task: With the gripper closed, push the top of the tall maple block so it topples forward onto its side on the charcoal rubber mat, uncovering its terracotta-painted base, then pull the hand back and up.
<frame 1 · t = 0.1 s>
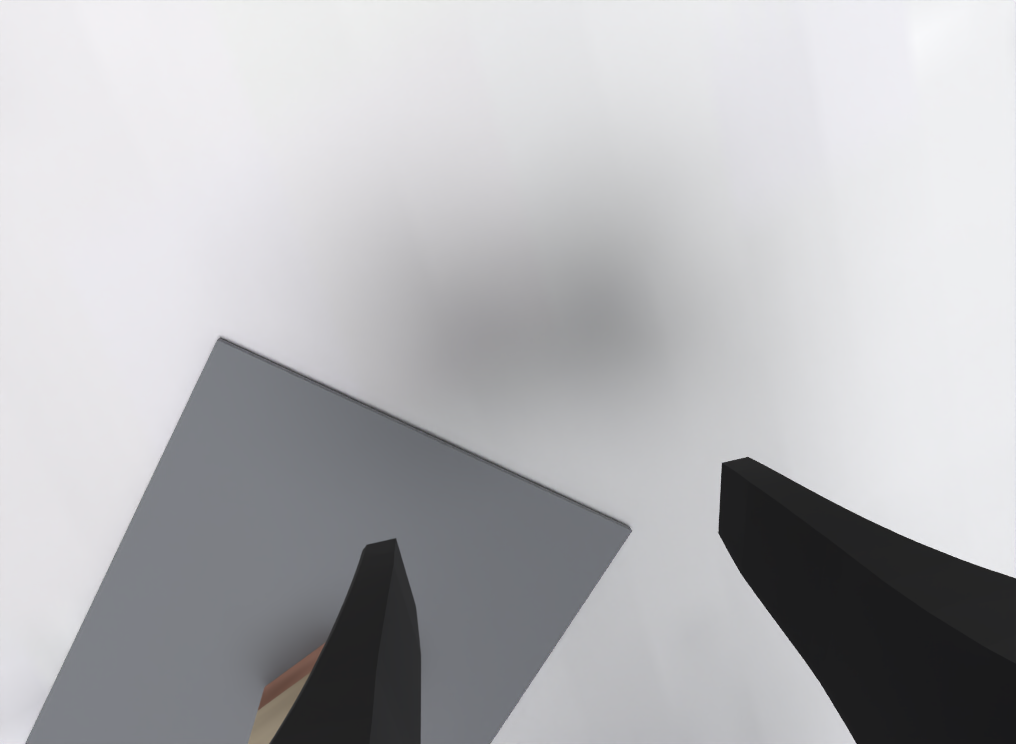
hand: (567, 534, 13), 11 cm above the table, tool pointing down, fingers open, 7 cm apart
mat: (334, 638, 25), on the table
maple block: (334, 687, 25), resting on mat
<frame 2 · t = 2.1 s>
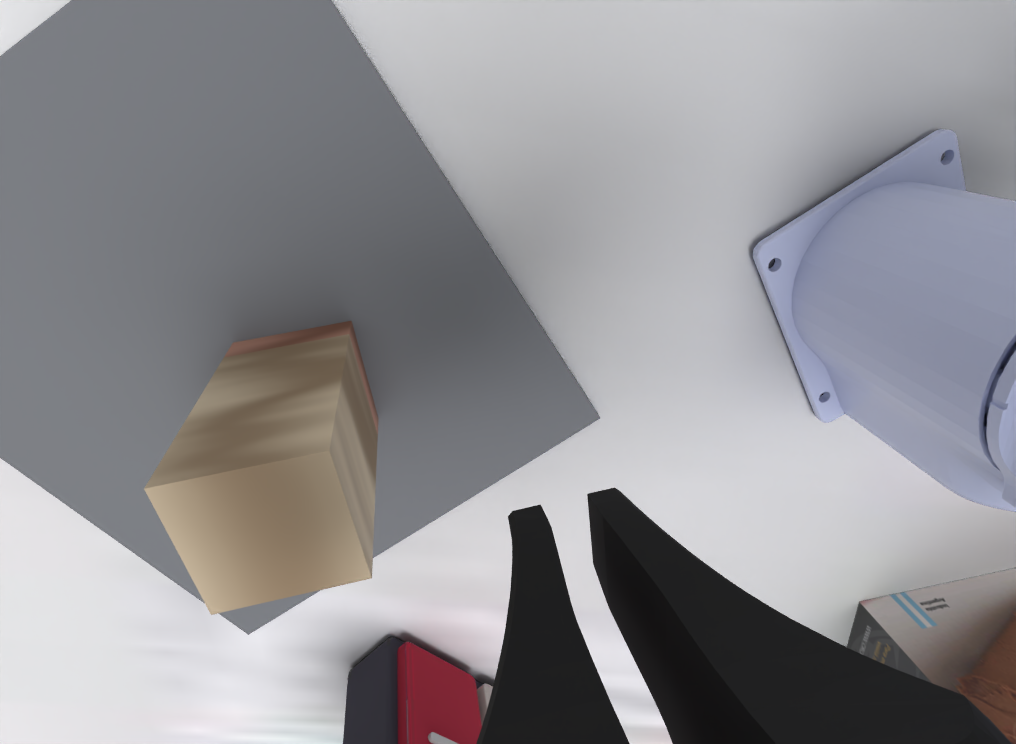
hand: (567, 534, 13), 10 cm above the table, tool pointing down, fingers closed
mat: (248, 352, 20), on the table
cake mix box: (1010, 598, 36), on the table
small drawer cabinet: (451, 687, 30), on the table
maple block: (309, 382, 21), resting on mat
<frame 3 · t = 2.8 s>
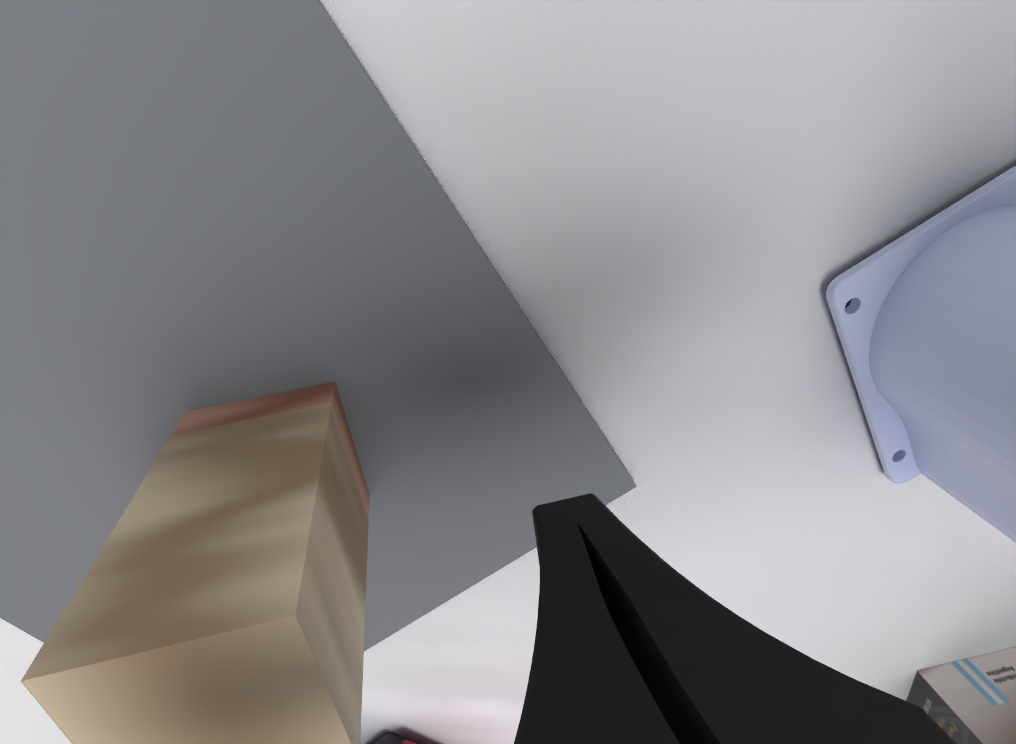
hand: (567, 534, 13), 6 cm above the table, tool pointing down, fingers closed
mat: (206, 421, 16), on the table
maple block: (283, 455, 17), resting on mat
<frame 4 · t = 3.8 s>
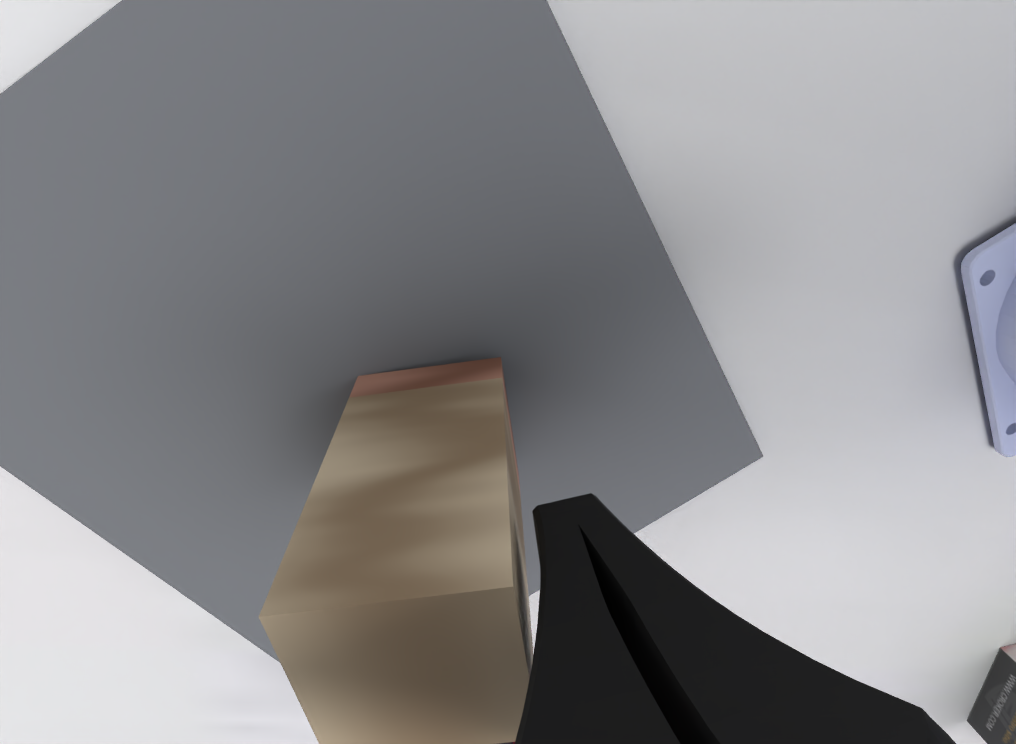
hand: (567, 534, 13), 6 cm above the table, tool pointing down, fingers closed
mat: (373, 387, 17), on the table
maple block: (442, 426, 17), point 1 cm above the table, tilted 9°, touching mat
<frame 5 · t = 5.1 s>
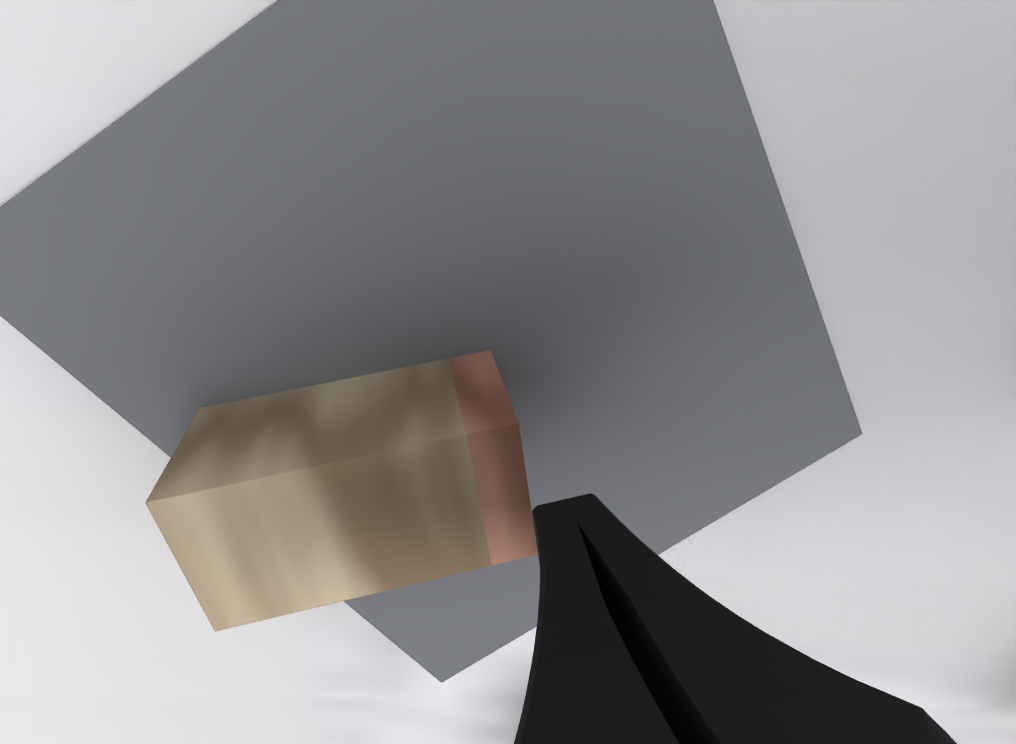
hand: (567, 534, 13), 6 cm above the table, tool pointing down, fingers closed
mat: (501, 361, 17), on the table
maple block: (512, 446, 16), point 2 cm above the table, tilted 90°, touching mat
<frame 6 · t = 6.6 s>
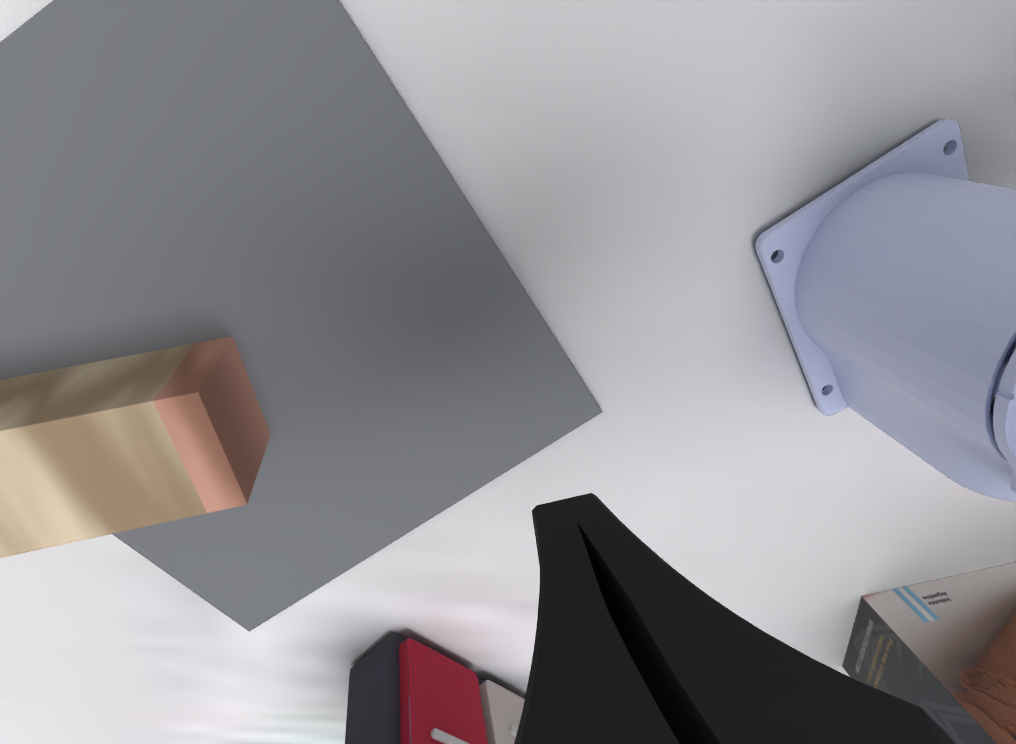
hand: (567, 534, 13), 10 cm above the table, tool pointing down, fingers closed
mat: (248, 346, 20), on the table
cake mix box: (1011, 592, 36), on the table
small drawer cabinet: (453, 684, 30), on the table
maple block: (239, 416, 19), point 2 cm above the table, tilted 90°, touching mat
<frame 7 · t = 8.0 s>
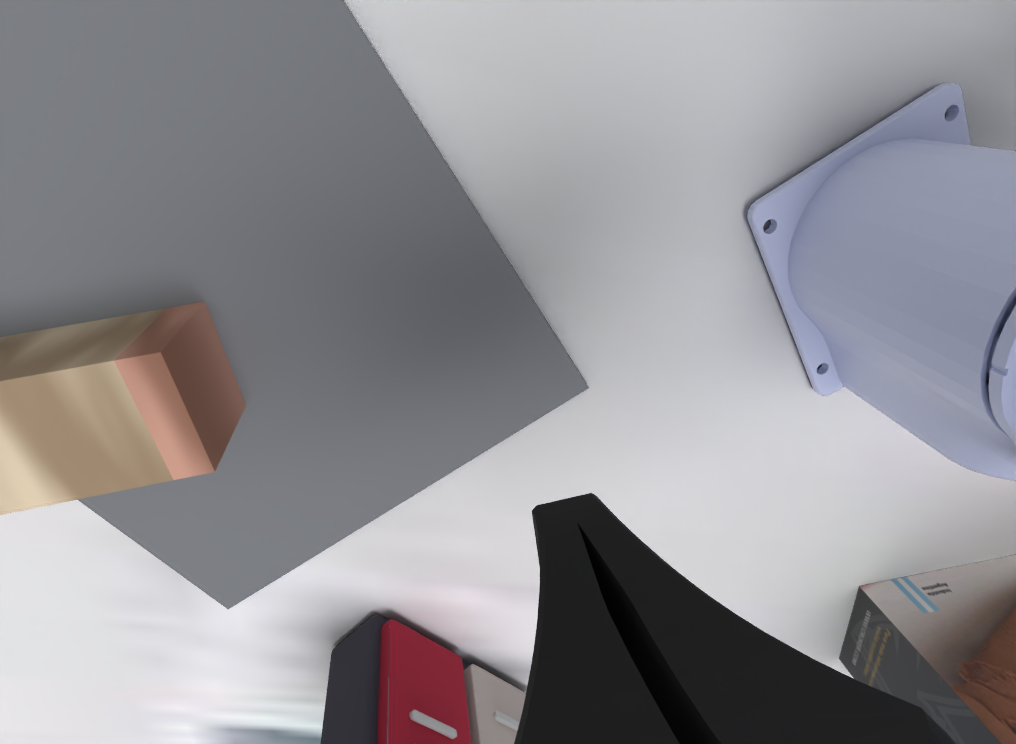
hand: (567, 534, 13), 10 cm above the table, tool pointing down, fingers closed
mat: (222, 312, 20), on the table
cake mix box: (1015, 585, 35), on the table
small drawer cabinet: (438, 668, 30), on the table
maple block: (209, 382, 18), point 2 cm above the table, tilted 90°, touching mat
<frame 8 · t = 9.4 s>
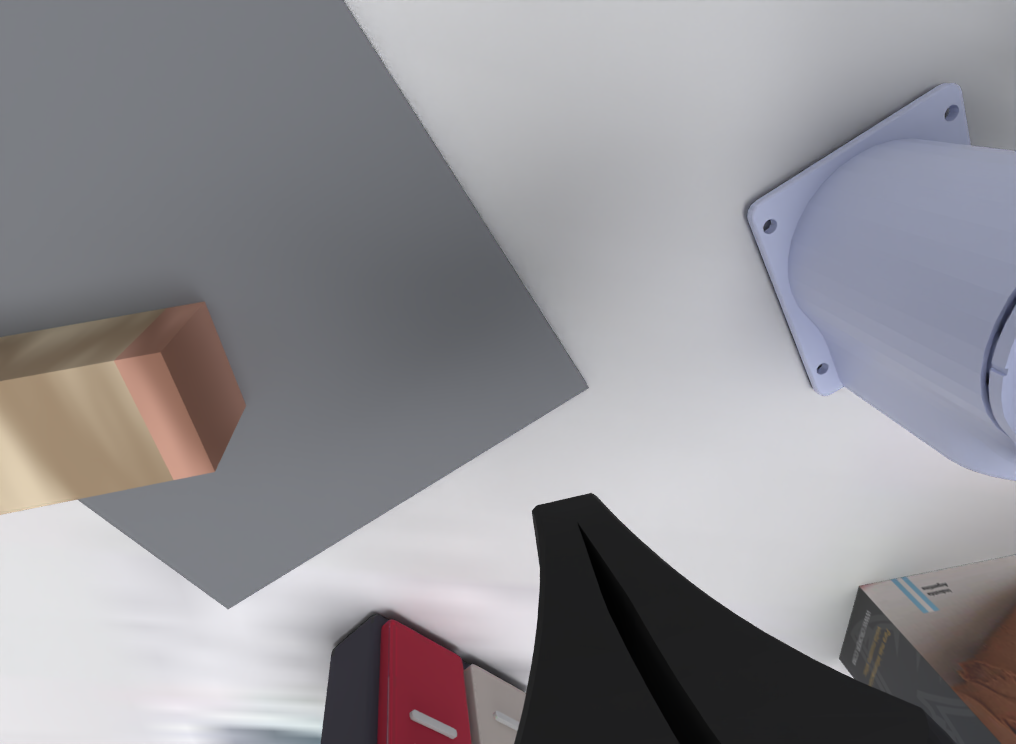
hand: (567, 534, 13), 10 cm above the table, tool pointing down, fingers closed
mat: (222, 312, 20), on the table
cake mix box: (1015, 585, 35), on the table
small drawer cabinet: (438, 668, 30), on the table
maple block: (209, 382, 18), point 2 cm above the table, tilted 90°, touching mat
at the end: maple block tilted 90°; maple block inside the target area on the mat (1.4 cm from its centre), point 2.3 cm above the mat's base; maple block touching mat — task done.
